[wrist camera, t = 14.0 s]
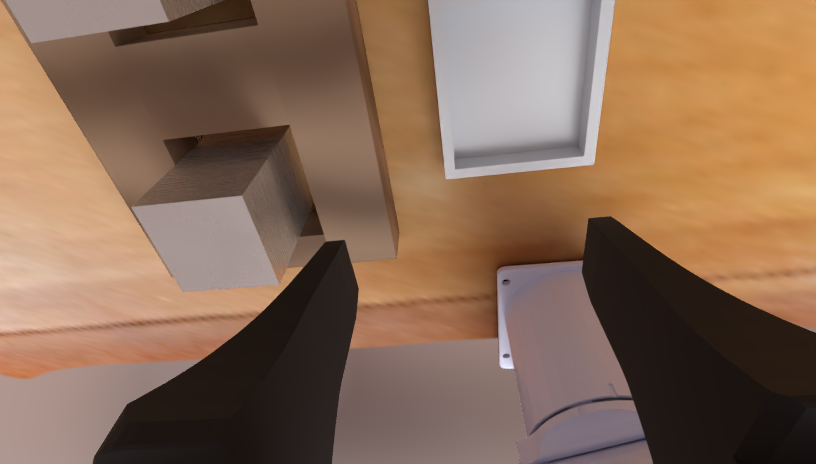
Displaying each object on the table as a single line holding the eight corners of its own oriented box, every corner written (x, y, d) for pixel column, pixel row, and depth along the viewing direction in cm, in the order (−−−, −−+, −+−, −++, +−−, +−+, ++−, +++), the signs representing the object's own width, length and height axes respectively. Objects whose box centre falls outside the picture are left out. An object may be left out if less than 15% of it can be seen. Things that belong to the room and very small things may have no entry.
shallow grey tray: (584, 150, 21) (594, 164, 20) (445, 165, 22) (445, 179, 21) (605, -37, 17) (619, -33, 15) (427, -9, 17) (427, -4, 16)
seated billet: (315, 198, 24) (279, 284, 18) (240, 205, 24) (182, 292, 19) (292, 122, 21) (242, 195, 15) (209, 132, 22) (130, 206, 16)
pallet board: (399, 232, 25) (396, 258, 23) (190, 251, 26) (171, 277, 24) (302, -287, 13) (280, -323, 11) (-61, -202, 15) (-135, -220, 13)
